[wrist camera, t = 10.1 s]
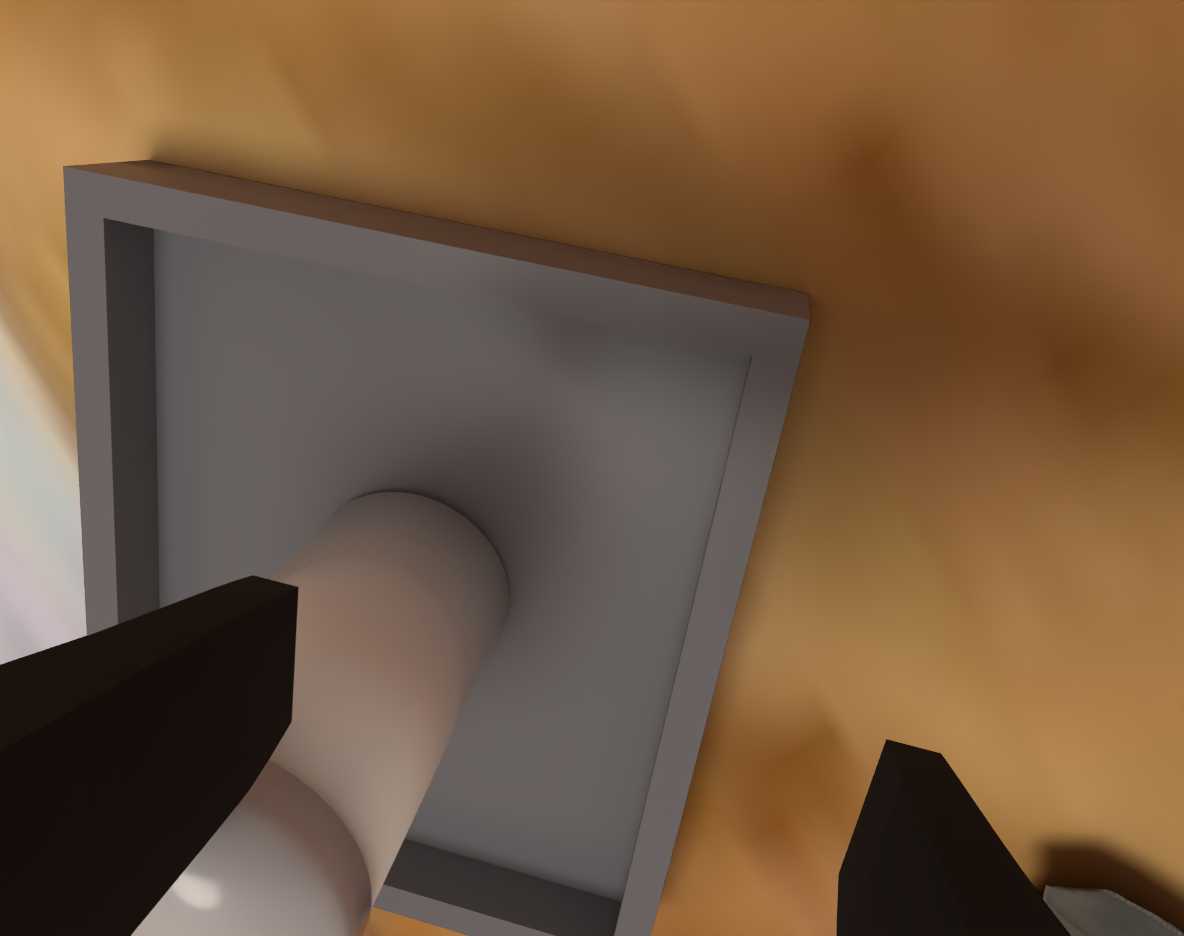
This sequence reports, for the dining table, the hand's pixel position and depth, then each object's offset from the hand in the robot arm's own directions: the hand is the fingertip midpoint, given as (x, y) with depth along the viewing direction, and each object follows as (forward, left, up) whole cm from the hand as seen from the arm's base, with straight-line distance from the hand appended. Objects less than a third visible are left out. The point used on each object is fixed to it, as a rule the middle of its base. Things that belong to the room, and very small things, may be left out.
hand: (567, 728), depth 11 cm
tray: (+5, +4, -9) cm, 11 cm away
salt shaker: (+5, +4, -8) cm, 10 cm away
